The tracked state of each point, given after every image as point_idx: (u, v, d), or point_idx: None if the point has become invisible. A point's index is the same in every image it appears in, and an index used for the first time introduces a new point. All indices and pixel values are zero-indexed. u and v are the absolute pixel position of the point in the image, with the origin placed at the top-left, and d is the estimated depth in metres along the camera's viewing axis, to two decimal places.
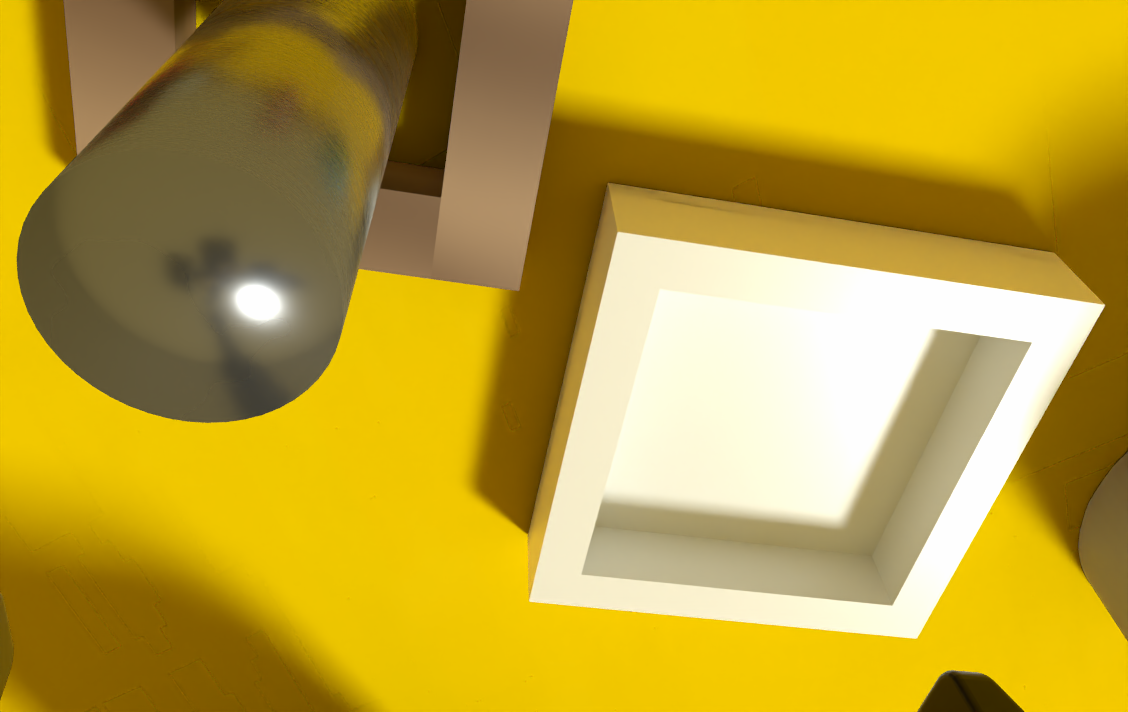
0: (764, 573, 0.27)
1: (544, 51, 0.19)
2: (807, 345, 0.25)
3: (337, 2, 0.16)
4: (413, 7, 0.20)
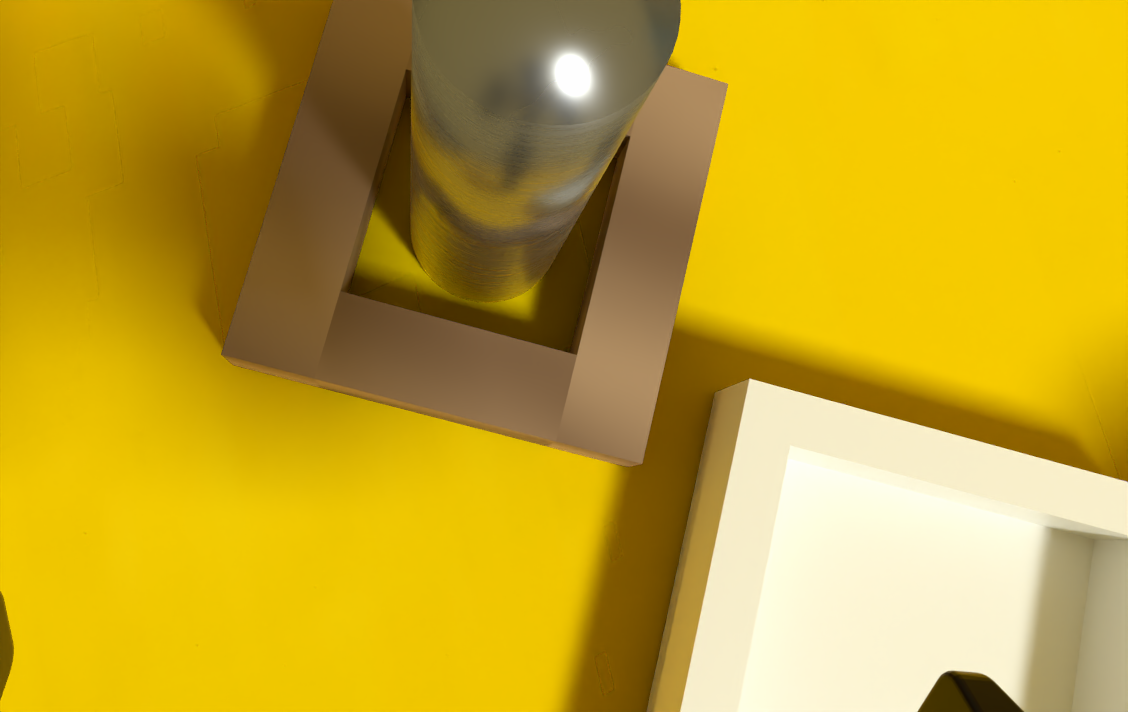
0: None
1: (678, 232, 0.23)
2: (922, 580, 0.23)
3: None
4: None
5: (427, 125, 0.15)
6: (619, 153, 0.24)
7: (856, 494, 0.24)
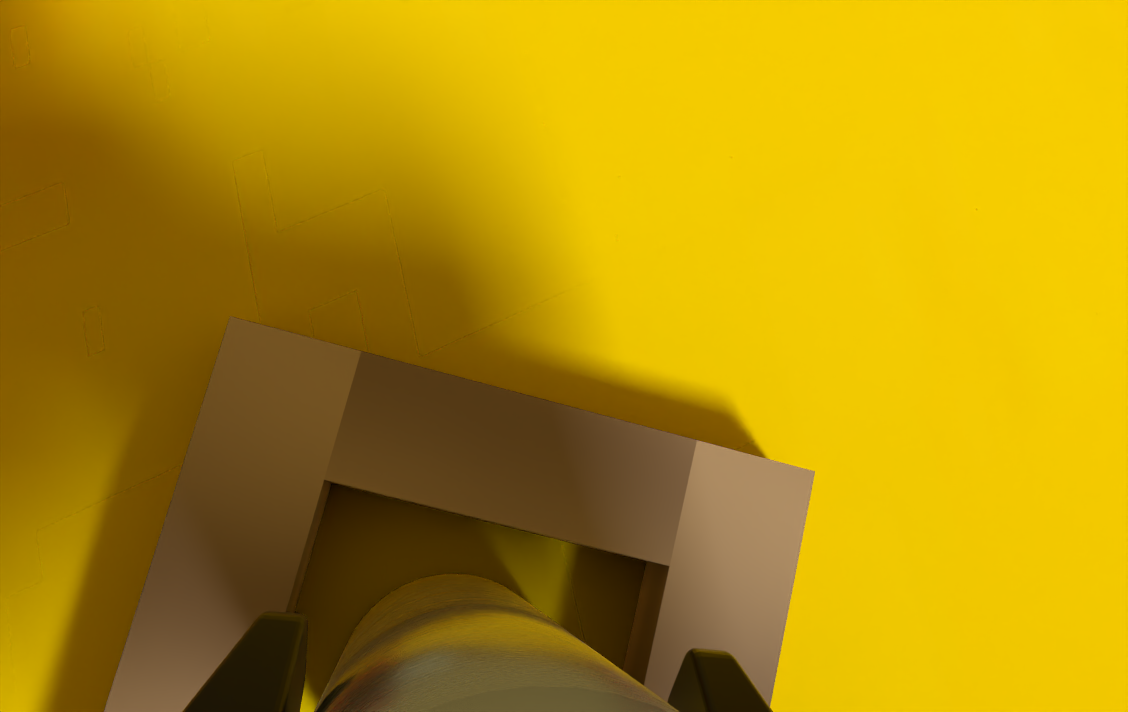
0: None
1: None
2: None
3: (547, 617, 0.12)
4: None
5: None
6: (650, 562, 0.16)
7: None
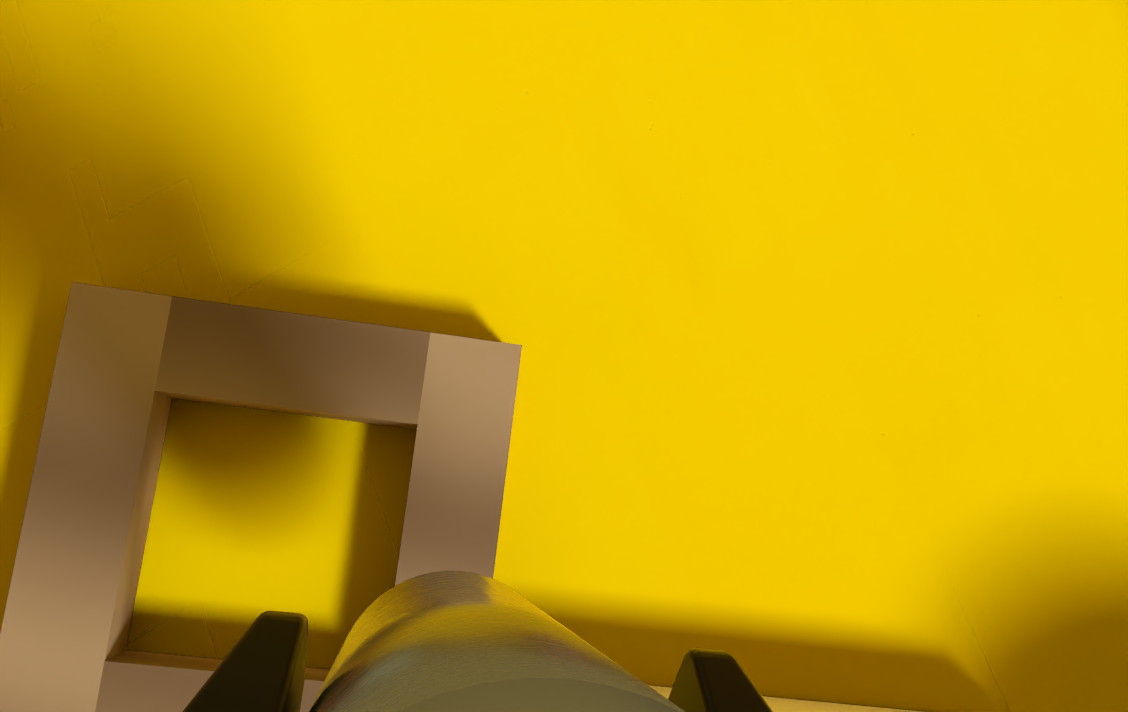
0: None
1: (481, 525, 0.21)
2: None
3: (545, 613, 0.12)
4: None
5: None
6: (416, 428, 0.22)
7: None
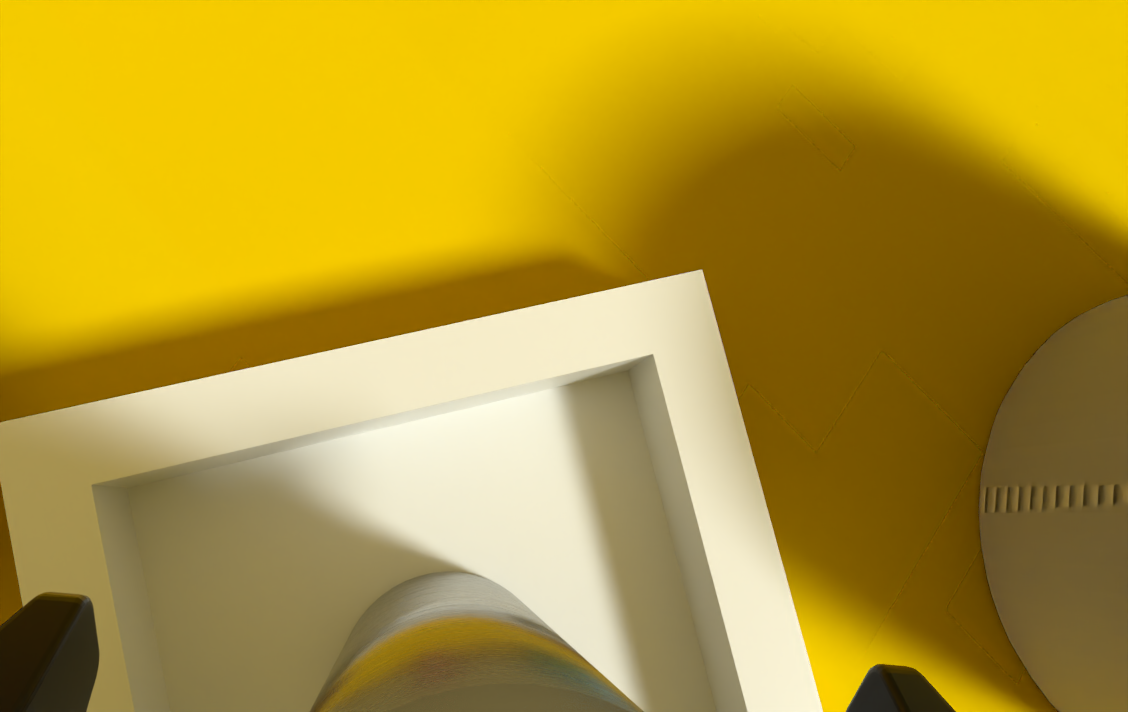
0: None
1: None
2: (423, 538, 0.17)
3: (534, 614, 0.13)
4: None
5: None
6: None
7: (287, 475, 0.17)
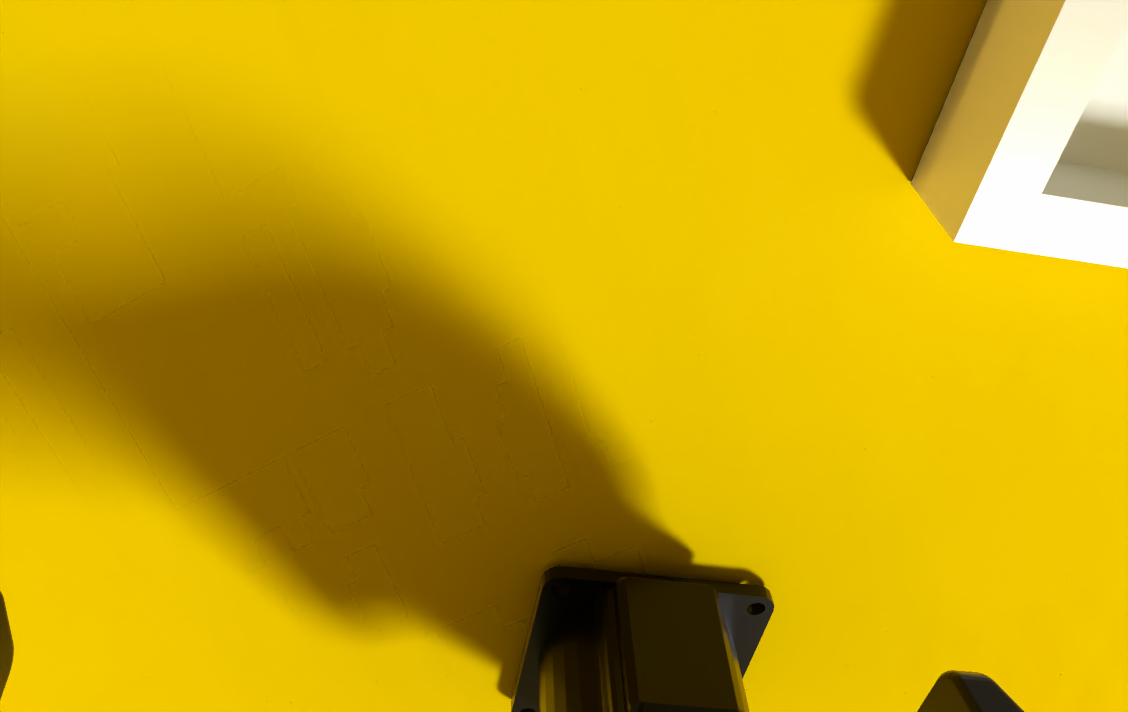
0: None
1: None
2: None
3: None
4: None
5: None
6: None
7: None
